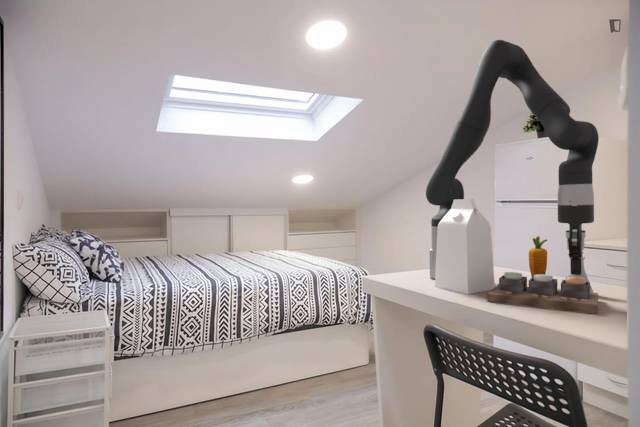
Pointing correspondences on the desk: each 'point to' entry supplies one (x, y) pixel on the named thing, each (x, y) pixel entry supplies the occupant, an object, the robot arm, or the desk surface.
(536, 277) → the grey button
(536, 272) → the carrot
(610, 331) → the desk surface
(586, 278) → the flask
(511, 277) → the sage button
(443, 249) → the milk
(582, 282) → the terracotta button
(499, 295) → the button board
